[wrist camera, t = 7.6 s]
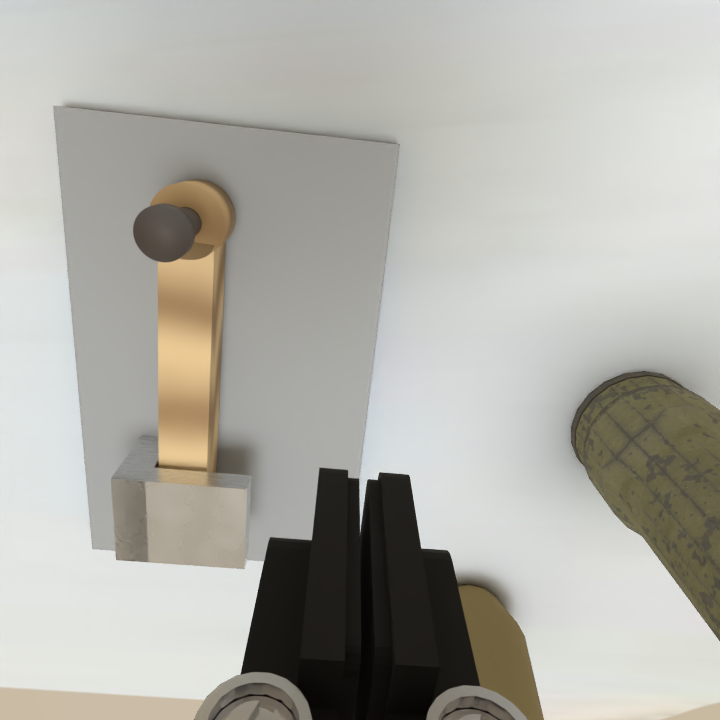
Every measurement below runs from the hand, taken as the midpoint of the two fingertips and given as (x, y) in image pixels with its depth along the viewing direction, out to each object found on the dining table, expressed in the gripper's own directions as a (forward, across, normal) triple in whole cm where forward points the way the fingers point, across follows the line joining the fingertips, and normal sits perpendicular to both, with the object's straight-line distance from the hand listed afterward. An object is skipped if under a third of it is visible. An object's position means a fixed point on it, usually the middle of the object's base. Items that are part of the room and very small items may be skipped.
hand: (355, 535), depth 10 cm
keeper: (+24, +9, +17) cm, 31 cm away
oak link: (+24, +9, +8) cm, 27 cm away
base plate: (+26, +8, +9) cm, 29 cm away
